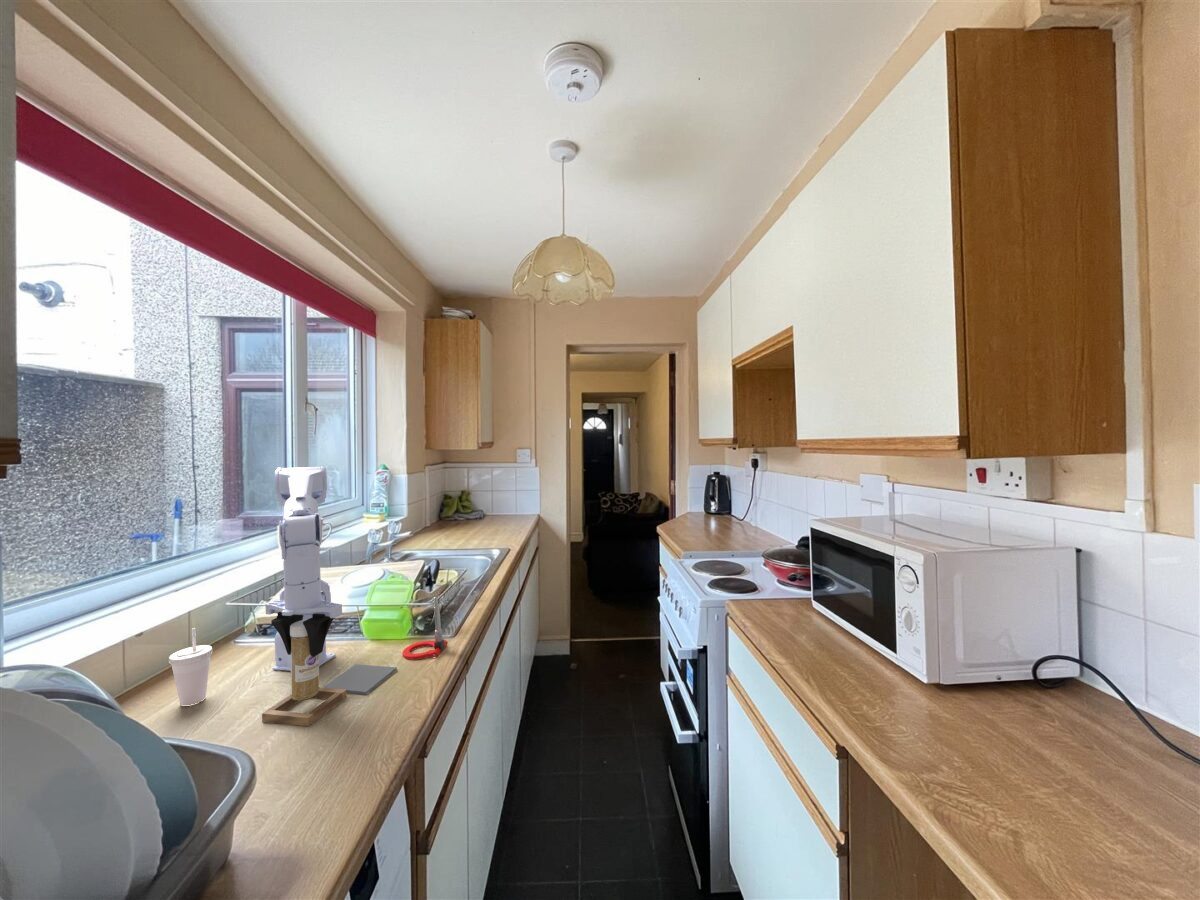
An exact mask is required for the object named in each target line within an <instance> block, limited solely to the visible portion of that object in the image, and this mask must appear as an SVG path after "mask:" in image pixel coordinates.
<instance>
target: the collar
mask: <svg viewBox="0 0 1200 900" xmlns="http://www.w3.org/2000/svg"><path fill="white" fill-rule="evenodd" d="M322 687H323V686H322ZM322 687H320V686H319V692H318V693H317V694H316V695H315V696H313V697H311V699H320V700H324V701H323V702H321V703H320V704H319V705H317V706H316V707H314V708H313V709H312V710H310V711H309V712H308V713H307V712H296V711H288V709H290V708H291V707H292V706H294V705H296V704H297V703H298V702H300V701H301V700H293V699H292V698H291V694H288V696H286V697H285V698H283V699H282V700H280V701H279V702H277V703H276V704H274V705H272V706H271V707H269V708H268V709H266V710H264V711H263V712H262V713H261V722H262V723H271V724H280V725H291V726H300V727H310V726H311V725H313V724H314V723H315V722H317V721H318V720H319V719H320V718H321V717H323V716H324V715H326V714H327V713H328V712H330V711H331V710H332V709H333V708H335V707H336V706H338V704H340V703H341V702H342V701H343V700H346V698H347V696H348V695H347V693H346V689H334V688H322Z"/></svg>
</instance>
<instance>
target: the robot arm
mask: <svg viewBox="0 0 1200 900" xmlns="http://www.w3.org/2000/svg"><path fill="white" fill-rule="evenodd" d="M327 479H328V478H327V468H326V467H325V465H321V466H306V467H304V466H303V467H302V466H300V467H277V468H276V470H275V471H274V484H275V485H274V486H275V487H274V488H275V493H276V497H277V498H276V499H277V502H278V504H279V506H281V507H283V515H282V516H283V519H282V520H279V523H278V524H279V525H278V538H279V539H278V540H279V545H280V549H281V559H282V560H283V586H284V587H283V588H282V590H281V591H280V592H279V600H273V601H270V602H267V603H265V606H264V607H265V615H273V614H277V616H276V617H275V618H272V619H271V622H270V623H271V625H272V627H273V628H274V629H275V630H276V631H277V632H276V634H275V637H274V656H275V659H274V661H275V665H274V666H272V668H271V669H272V670H276V671H287V672H288V671H289V672H291V636H290V626H291V624H293V623H295V622H297V621H301V620H306V619H308V620H306V621H304V622H303V625H304V627H305V629H306V631H307V634H308V638H309V648H310V654H311V656H312V657H314V656H316V655H318V656H319V667H321V666H322V665H324V664H325V663H326V662H328V661H330V660H332V659H333V658H335V657H336V653H332V652H331V653H329V652H327V642H326V640H327V635H328V632H329V630H330V627H331V626H332V623H333V621H334V620H335V619H336V618H337V617H339V616H342V615H343V604H341V603H335V602H332V596H331V595H332V594H331V588H330V587H331V586H330V585H329V583H328V582H327V581H324V580H322V579H321V556H320V555H321V553H320V551H321V550H320V548H321V547H320V545H321V543H322V541H323V531H322V528H323V527H322V518H321V516H320V513H319V505H321V504H323V503H325V502H326V499H327V490H328V480H327ZM318 542H319V544H318Z"/></svg>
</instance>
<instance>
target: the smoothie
mask: <svg viewBox="0 0 1200 900" xmlns="http://www.w3.org/2000/svg"><path fill="white" fill-rule="evenodd" d="M196 630H197V629H196V627H192V628H191V642H192V646H189V647H186V648H182V649H180V650H177V651H175V652H173V653H172V654H170V655H169V656H168V664H170V665H171V668H172V673H173V677H174V681H175V682H174V683H175V688H176V691H177V696H178V701H179V705H180V704H181V705H191V704H195V703H198V702H200V701H201V700H203V699H204V698H205V697H206V696H207V689H208V681H209V672H210V661H211V655H212V654H213V646H211V645H207V644H202V645H197V633H196V632H197V631H196Z"/></svg>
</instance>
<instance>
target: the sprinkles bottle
mask: <svg viewBox="0 0 1200 900" xmlns="http://www.w3.org/2000/svg"><path fill="white" fill-rule="evenodd" d="M306 620H308V619H306ZM306 620H301V621H297V622H295V623H293V624H291V626H290V636H291V671H290V681H291V694H290V695H291V698H292V699H293V700H300V701H303V700H307V699H310V698H311V697H313V696H315V695H316V694H317V693H318V692H319V687H320V685H319V684H320V683H319V678H320V677H319V676H320V675H319V674H320V666H319V656H318V655H316V656H314V657H312V656H311V654H310V648H309V638H308V634H307V631H306V629H305V627H304V625H303V622H304V621H306ZM311 699H312V698H311Z"/></svg>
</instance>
